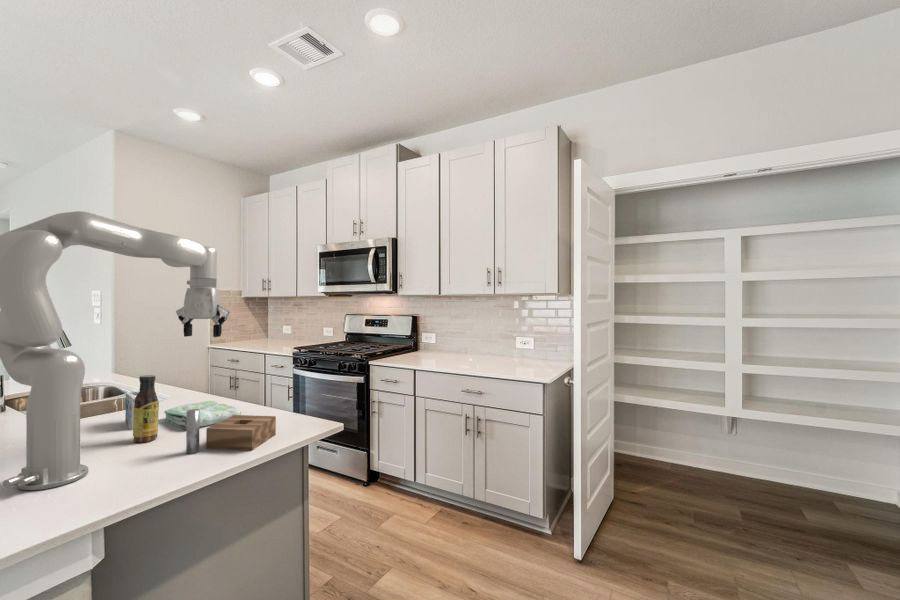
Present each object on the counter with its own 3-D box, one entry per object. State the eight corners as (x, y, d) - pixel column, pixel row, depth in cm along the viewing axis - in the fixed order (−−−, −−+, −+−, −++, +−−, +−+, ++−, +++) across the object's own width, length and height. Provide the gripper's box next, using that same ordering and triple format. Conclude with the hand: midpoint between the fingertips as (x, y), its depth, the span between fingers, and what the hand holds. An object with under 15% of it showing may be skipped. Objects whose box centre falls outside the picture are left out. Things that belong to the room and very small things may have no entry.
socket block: (252, 450, 122) (252, 430, 122) (206, 448, 123) (206, 428, 123) (275, 434, 136) (275, 416, 136) (234, 433, 137) (234, 414, 137)
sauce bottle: (144, 444, 126) (145, 378, 126) (127, 442, 127) (127, 377, 127) (163, 437, 132) (164, 374, 132) (147, 435, 133) (147, 373, 133)
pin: (194, 454, 118) (194, 412, 118) (183, 454, 119) (183, 411, 118) (201, 450, 122) (202, 409, 121) (191, 449, 122) (191, 408, 122)
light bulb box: (124, 423, 146) (124, 392, 146) (148, 419, 151) (148, 389, 151) (131, 430, 138) (131, 398, 138) (155, 426, 143) (155, 394, 143)
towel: (214, 410, 165) (214, 397, 165) (242, 420, 152) (242, 406, 152) (161, 421, 150) (161, 406, 150) (187, 433, 138) (187, 417, 138)
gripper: (169, 283, 134) (168, 337, 134) (222, 284, 133) (221, 338, 133) (185, 284, 141) (184, 335, 141) (235, 285, 141) (234, 336, 141)
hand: (202, 336), depth 137 cm, fingers open, 9 cm apart
